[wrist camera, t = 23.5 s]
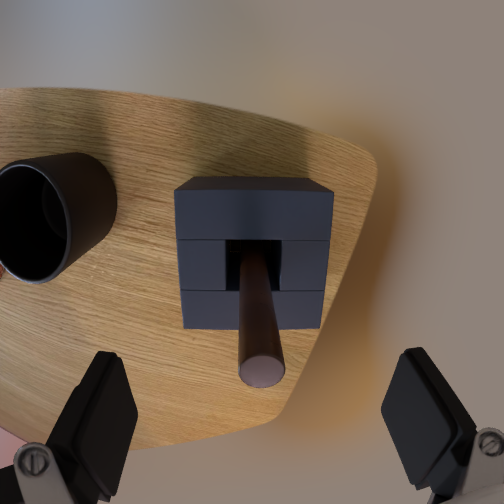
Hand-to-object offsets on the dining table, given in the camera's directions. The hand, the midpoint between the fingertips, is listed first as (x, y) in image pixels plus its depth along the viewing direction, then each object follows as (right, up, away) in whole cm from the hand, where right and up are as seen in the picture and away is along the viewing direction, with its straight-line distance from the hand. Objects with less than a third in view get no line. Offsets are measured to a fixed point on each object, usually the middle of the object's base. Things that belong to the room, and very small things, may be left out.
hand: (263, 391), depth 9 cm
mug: (-19, +10, +17) cm, 27 cm away
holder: (0, +6, +19) cm, 20 cm away
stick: (0, +6, +19) cm, 20 cm away
